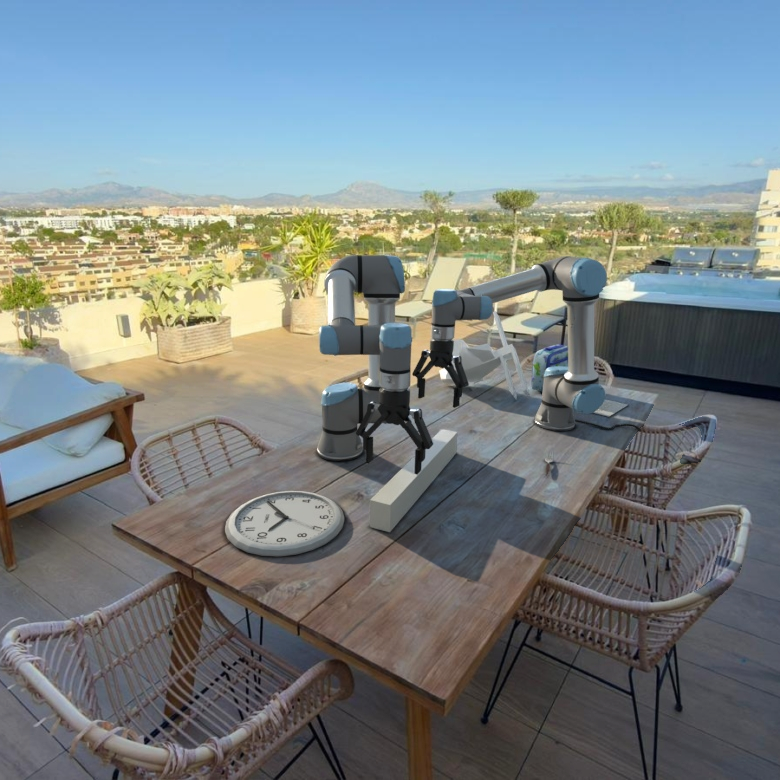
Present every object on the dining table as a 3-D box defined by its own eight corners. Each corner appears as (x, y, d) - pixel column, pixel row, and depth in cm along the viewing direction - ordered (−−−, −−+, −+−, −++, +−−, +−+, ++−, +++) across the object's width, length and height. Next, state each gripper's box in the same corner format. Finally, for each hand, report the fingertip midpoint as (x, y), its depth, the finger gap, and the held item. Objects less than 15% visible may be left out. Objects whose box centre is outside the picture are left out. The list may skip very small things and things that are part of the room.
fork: (541, 476, 161) (542, 470, 161) (545, 456, 176) (546, 450, 175) (550, 477, 161) (551, 471, 160) (553, 457, 175) (554, 451, 174)
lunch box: (547, 397, 237) (552, 352, 231) (526, 391, 245) (531, 348, 238) (574, 386, 255) (580, 344, 249) (554, 381, 262) (559, 340, 256)
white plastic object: (461, 429, 252) (437, 405, 227) (444, 352, 274) (420, 323, 250) (535, 404, 240) (518, 377, 215) (510, 326, 262) (492, 293, 237)
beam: (440, 450, 180) (441, 429, 177) (456, 453, 177) (457, 431, 175) (369, 527, 133) (369, 499, 131) (389, 532, 131) (390, 505, 128)
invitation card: (608, 416, 214) (573, 407, 224) (608, 416, 214) (573, 408, 224) (628, 404, 229) (594, 396, 238) (628, 405, 229) (594, 397, 238)
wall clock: (344, 547, 121) (211, 552, 118) (344, 554, 121) (212, 558, 119) (344, 486, 149) (237, 489, 147) (344, 491, 150) (237, 494, 147)
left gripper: (342, 384, 129) (343, 463, 135) (437, 399, 119) (434, 483, 126) (356, 377, 136) (357, 452, 142) (448, 390, 126) (444, 470, 132)
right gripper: (403, 334, 171) (401, 396, 177) (470, 346, 156) (465, 413, 163) (416, 331, 177) (414, 391, 183) (482, 342, 162) (477, 407, 168)
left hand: (393, 466), depth 134 cm, fingers open, 13 cm apart
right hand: (438, 402), depth 173 cm, fingers open, 13 cm apart
